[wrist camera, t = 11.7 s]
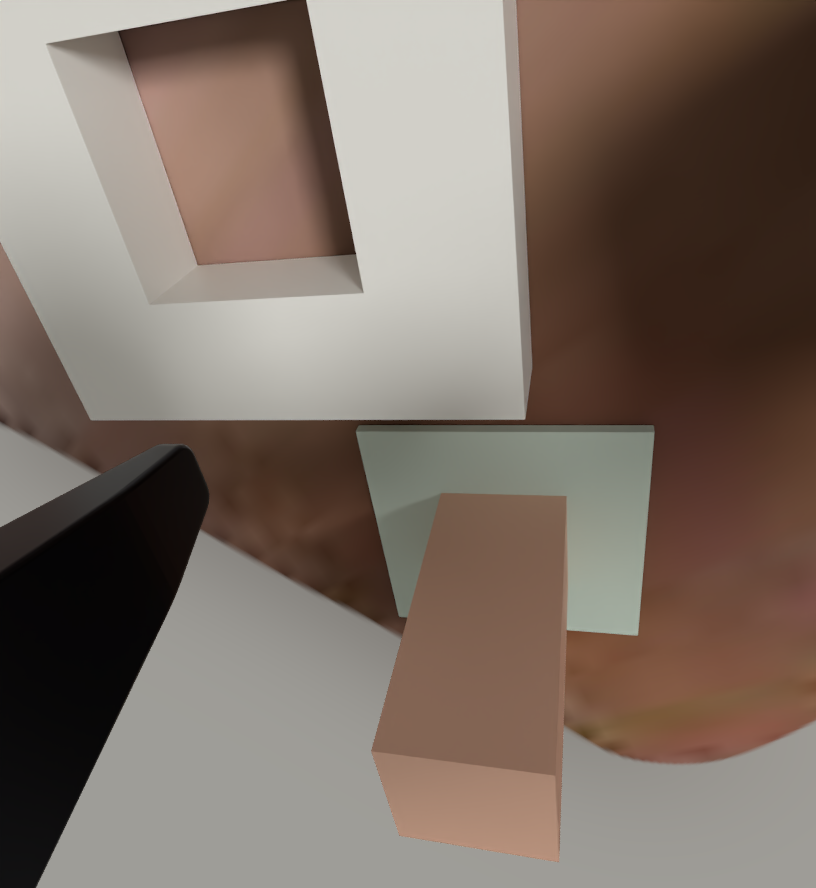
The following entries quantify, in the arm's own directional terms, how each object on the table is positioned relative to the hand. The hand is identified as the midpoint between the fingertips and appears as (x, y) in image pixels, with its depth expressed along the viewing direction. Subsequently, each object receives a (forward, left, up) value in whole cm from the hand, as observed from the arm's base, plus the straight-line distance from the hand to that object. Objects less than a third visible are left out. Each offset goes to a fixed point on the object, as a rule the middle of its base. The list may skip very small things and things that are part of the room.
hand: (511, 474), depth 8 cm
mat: (+2, +12, -12) cm, 17 cm away
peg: (+2, +12, -12) cm, 17 cm away
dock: (+8, -2, -12) cm, 15 cm away
